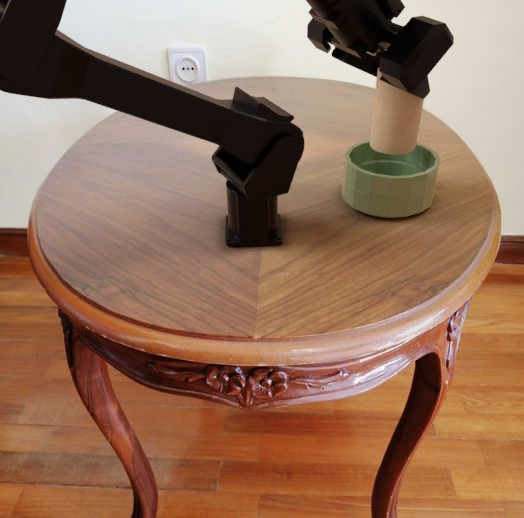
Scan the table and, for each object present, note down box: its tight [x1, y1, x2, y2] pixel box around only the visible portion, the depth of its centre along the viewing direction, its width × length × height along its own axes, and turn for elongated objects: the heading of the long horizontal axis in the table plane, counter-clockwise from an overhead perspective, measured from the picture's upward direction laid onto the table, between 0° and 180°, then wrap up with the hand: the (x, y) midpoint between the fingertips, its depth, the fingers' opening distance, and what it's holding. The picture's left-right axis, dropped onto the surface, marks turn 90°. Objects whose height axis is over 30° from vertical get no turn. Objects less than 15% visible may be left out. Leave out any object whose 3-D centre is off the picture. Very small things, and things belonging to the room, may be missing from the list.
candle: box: [369, 68, 425, 155], centre depth 68 cm, size 6×6×10 cm
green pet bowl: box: [341, 139, 441, 219], centre depth 73 cm, size 11×11×6 cm
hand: (410, 87), depth 67 cm, fingers closed on candle, 5 cm apart
